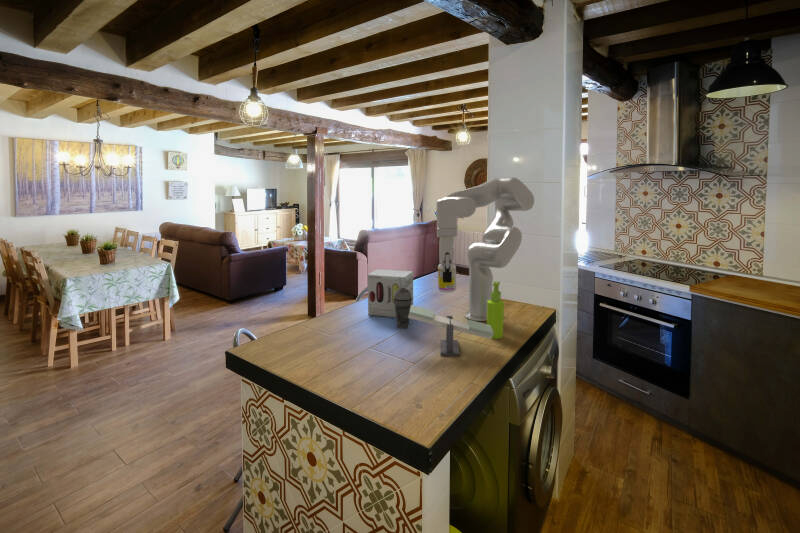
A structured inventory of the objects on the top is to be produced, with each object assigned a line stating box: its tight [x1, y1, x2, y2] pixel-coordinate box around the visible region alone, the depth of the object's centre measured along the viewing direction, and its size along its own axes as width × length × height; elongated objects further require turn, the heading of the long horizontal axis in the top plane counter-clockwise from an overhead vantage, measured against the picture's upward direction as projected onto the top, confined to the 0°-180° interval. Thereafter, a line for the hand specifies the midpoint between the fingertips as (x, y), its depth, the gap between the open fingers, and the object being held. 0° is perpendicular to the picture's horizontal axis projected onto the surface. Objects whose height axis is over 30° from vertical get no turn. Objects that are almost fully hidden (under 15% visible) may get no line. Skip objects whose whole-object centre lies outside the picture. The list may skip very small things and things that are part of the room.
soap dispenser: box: [486, 281, 505, 340], centre depth 150 cm, size 6×7×20 cm
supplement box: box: [367, 268, 414, 318], centre depth 179 cm, size 17×13×18 cm
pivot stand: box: [439, 315, 460, 357], centre depth 138 cm, size 6×12×10 cm, turn 175°
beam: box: [408, 304, 494, 340], centre depth 137 cm, size 28×8×3 cm, turn 86°
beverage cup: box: [394, 277, 412, 330], centre depth 160 cm, size 7×7×20 cm
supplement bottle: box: [437, 256, 457, 293], centre depth 154 cm, size 7×7×13 cm
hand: (447, 279), depth 154 cm, fingers closed on supplement bottle, 6 cm apart
